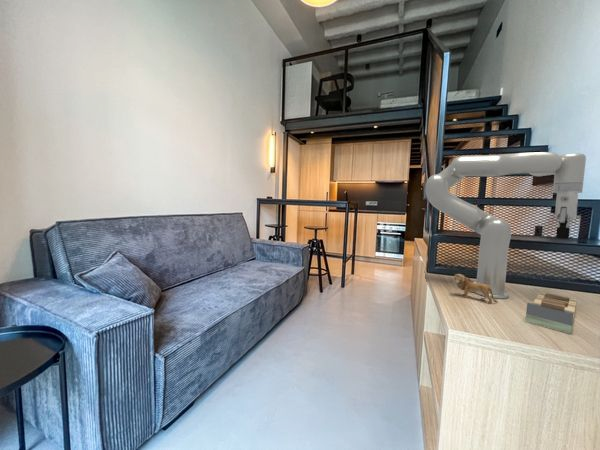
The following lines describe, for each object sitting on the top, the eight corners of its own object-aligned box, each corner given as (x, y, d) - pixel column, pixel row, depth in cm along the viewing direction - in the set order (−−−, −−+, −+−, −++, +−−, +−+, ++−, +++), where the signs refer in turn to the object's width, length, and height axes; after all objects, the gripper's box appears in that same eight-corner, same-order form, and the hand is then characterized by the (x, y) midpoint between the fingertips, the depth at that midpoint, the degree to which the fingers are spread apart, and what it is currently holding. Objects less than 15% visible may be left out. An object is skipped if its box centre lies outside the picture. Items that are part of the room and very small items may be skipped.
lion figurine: (451, 296, 102) (453, 274, 102) (453, 293, 107) (454, 271, 106) (497, 306, 94) (500, 282, 93) (497, 301, 98) (499, 278, 97)
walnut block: (562, 321, 76) (564, 307, 76) (539, 316, 80) (541, 302, 79) (563, 317, 79) (565, 303, 79) (541, 311, 83) (543, 298, 83)
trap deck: (571, 334, 74) (572, 325, 73) (525, 321, 81) (526, 314, 81) (575, 305, 96) (576, 298, 96) (539, 297, 104) (540, 291, 103)
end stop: (572, 325, 73) (573, 314, 73) (526, 314, 81) (527, 303, 81) (572, 324, 74) (573, 312, 74) (526, 312, 82) (528, 302, 82)
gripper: (580, 187, 86) (575, 241, 88) (584, 189, 96) (578, 238, 97) (549, 188, 92) (544, 238, 93) (556, 190, 101) (551, 236, 103)
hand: (562, 238), depth 95 cm, fingers closed
